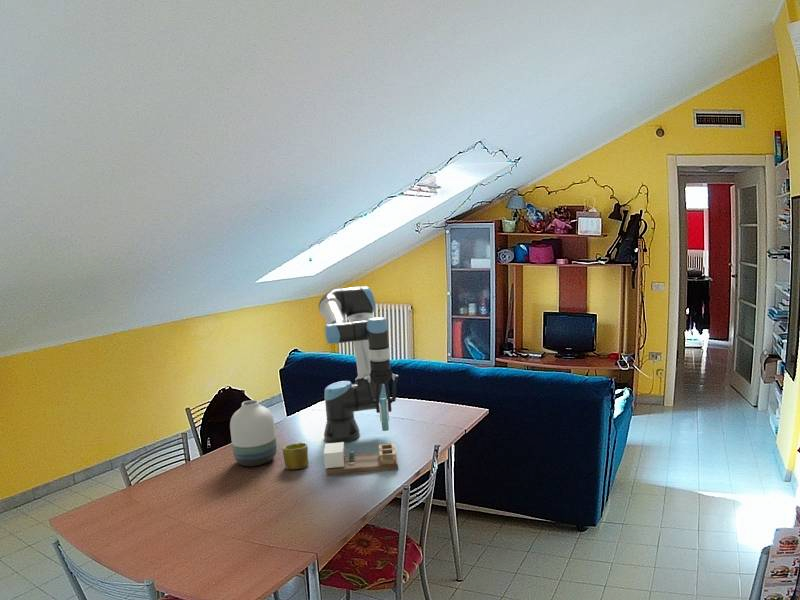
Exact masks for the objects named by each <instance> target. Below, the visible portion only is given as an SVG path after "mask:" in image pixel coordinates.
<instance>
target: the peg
mask: <svg viewBox="0 0 800 600" xmlns="http://www.w3.org/2000/svg"><path fill="white" fill-rule="evenodd" d="M387 402H388V401H386V398H381V399H380V404H381V410H382V422H381V430H382V431H383V432H384V431H385V432H387V431H389V430H390V427H389V426H390V425H389V421H387V411H386V404H387Z"/></svg>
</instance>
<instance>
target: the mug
mask: <svg viewBox="0 0 800 600" xmlns="http://www.w3.org/2000/svg"><path fill="white" fill-rule="evenodd" d="M308 449H309V447H308V445H307V443H305V442H304V443H303V442H300V441H299V442H298V441H297V442H296V443H292V444H287V445H284V446H283V448H282V457H283V459H284V465H285V467H286V469H287V470H291V471H292V470H293V471H294V470H295V471H296V470H300V469H304V468H307V467H308V466H309V454H308Z"/></svg>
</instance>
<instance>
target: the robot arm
mask: <svg viewBox="0 0 800 600" xmlns="http://www.w3.org/2000/svg"><path fill="white" fill-rule="evenodd" d="M376 307H377V306H376V300H375V296H374V293H373V291H372V289H371V288H370V287H369V286H360V285H358V286H353V287H345V288H343V287H342V288H334V289H332V290H329V291H327V292H326V293H325V294H324V295H322V296H321V298H320V300H319V303H318V311H319V313H320V315H321V316H322V317H323V318H324V321H325V324H326V325H325V326H324V337H325V341H326V343H327V344H328V345H332V344H333V345H337V344H343V343H350V342H353V348H354V357H355V361H356V362H355V363H356V370H357V371H356V372H357V377H356V378H355V379H354V380H355V382H354V383H352V382H351V381H350V380H341V381H337V382H333V383H331V384H329V385H327V386H326V387H325V388H324V398H323V399H324V401H325V402H324V403H325V413H326V423H325V428H324V433H323V438H324V441H326V442H328V443H339V442H344V443H348V442H353V441H355V440H357V439H359V437H360V435H361V433H360V428H359V425H358V423H357V422H356V418H355V413H356V412H360V411H369V410H376V413H377V414H379V420H380V421H379V422H380V423H382V410H381V404H380V399H381V398H386V401H387V404H386V411H387V421H388V422H389V421H390V414H389V413H391V412H392V411H393V410H392V403H395V402H396V399H397V398H396V397H397V384H398V381H399V378H400V377H399V374H394V373H393V371H392V369H391V368H392V367H391V359H390V357H391V355H390V354H391V353H390V347H389V332H388V330H389V326H388V320H387V319H386V318H385V317H383V316H377V317H373V316H374V312H376ZM345 316H346V318H345ZM346 319H347V320H348V321H349V322H347V321H346ZM391 378H392V381H393V382H392V394H391V395H392V396H391V395H390V389H389V384H388V383H389V382H390V379H391ZM354 412H355V413H354Z"/></svg>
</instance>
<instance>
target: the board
mask: <svg viewBox="0 0 800 600" xmlns="http://www.w3.org/2000/svg"><path fill="white" fill-rule="evenodd" d="M395 446H396V445H395V442H394V443H382V444H378V451H379V452H368V453H361V454H360V453H357V454H355V451H353V450H352V451H349V452H348V455H347V454H345V457H344V467H334V468H326V476H327V477H331V476H333V477H334V476H342V475H352V474H353V475H354V474H363V473H374V472H383V471H384V472H385V471H387V472H388V471H395V470H397V471H398V470H399V461H398V460H399V459H398V455H397V454H398V453H397V450H396V447H395Z"/></svg>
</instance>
